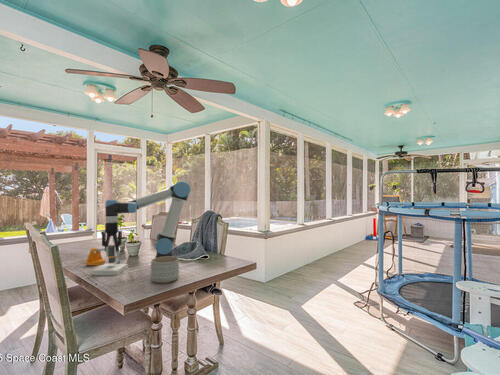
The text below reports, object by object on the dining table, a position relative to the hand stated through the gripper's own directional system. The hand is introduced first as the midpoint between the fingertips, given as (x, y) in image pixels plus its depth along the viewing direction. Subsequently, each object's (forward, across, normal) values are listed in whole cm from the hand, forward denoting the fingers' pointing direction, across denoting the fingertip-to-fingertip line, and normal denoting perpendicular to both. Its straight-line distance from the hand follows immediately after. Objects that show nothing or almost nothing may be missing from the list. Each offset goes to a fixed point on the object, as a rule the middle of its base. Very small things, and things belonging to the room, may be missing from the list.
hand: (111, 255), depth 181 cm
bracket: (+11, +21, -18) cm, 29 cm away
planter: (+12, -41, +17) cm, 46 cm away
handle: (+10, +7, -7) cm, 14 cm away
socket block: (+11, +1, 0) cm, 11 cm away
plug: (+4, 0, 0) cm, 4 cm away
